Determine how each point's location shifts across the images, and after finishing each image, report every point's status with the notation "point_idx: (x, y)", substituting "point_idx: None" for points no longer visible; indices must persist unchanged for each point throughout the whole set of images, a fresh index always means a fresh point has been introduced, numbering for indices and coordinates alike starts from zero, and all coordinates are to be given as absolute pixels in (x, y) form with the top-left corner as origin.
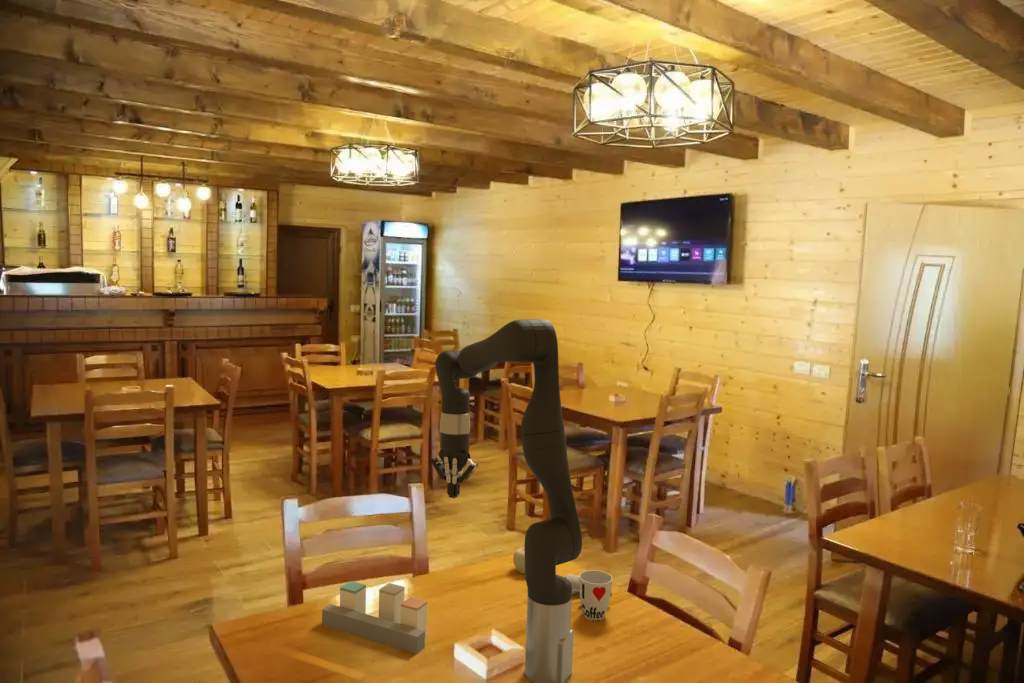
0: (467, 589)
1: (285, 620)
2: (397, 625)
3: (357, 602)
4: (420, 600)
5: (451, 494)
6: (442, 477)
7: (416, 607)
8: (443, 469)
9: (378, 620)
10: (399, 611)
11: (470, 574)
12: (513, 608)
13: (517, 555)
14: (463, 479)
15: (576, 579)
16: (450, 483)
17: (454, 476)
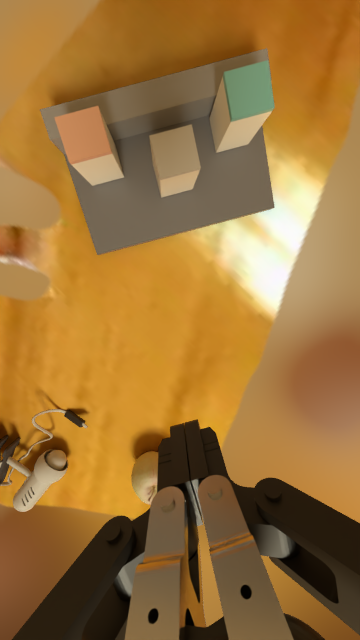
0: (177, 359)
1: (329, 54)
2: (103, 115)
3: (219, 101)
4: (81, 153)
5: (183, 432)
6: (269, 491)
7: (59, 118)
8: (336, 584)
9: (146, 102)
10: (156, 174)
11: (211, 399)
12: (80, 363)
13: (157, 470)
14: (84, 555)
15: (35, 474)
16: (201, 482)
17: (167, 547)
